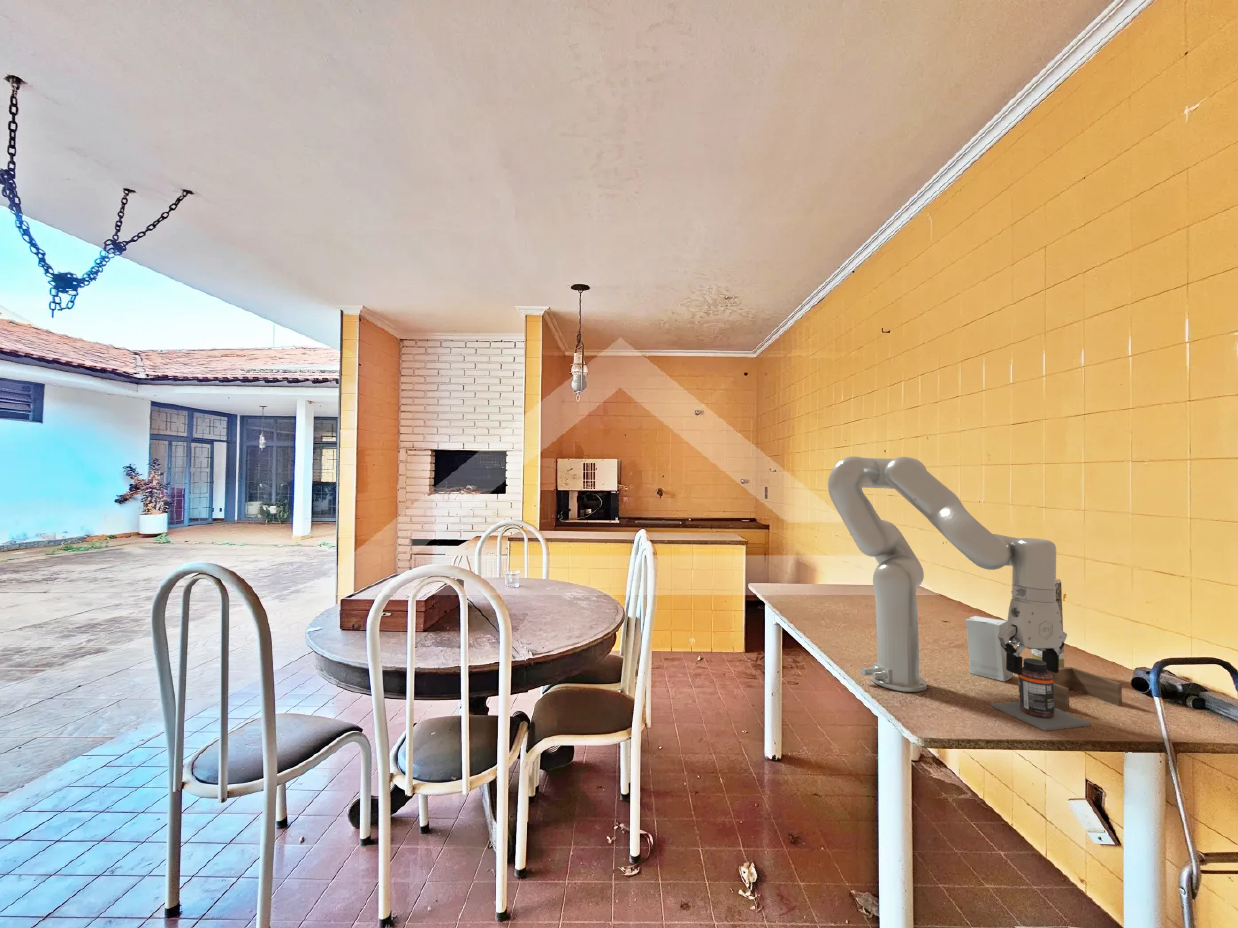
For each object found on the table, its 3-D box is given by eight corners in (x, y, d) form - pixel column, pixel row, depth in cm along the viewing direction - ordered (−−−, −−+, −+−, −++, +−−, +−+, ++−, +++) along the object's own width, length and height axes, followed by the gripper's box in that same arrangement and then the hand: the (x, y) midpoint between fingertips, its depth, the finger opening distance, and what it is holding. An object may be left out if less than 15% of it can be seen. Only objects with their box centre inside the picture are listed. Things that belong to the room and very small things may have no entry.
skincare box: (1013, 678, 133) (1011, 620, 134) (1003, 682, 130) (1001, 624, 131) (977, 668, 140) (975, 614, 141) (967, 672, 137) (965, 617, 138)
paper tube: (1069, 676, 134) (1066, 581, 136) (1038, 673, 137) (1035, 580, 138) (1057, 667, 141) (1053, 577, 142) (1027, 664, 143) (1024, 575, 144)
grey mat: (1044, 730, 104) (1044, 728, 104) (991, 705, 116) (991, 703, 116) (1090, 725, 107) (1090, 723, 107) (1034, 701, 118) (1034, 699, 118)
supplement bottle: (1023, 704, 116) (1021, 654, 116) (1057, 713, 111) (1055, 661, 112) (1016, 712, 112) (1014, 660, 112) (1051, 721, 107) (1049, 667, 108)
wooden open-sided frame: (1066, 711, 113) (1065, 688, 114) (1018, 691, 124) (1017, 671, 124) (1122, 705, 116) (1121, 683, 117) (1071, 686, 127) (1070, 666, 128)
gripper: (1017, 599, 107) (1016, 680, 107) (1083, 597, 111) (1082, 676, 110) (985, 591, 115) (984, 666, 114) (1048, 590, 118) (1046, 663, 118)
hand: (1032, 671), depth 112 cm, fingers open, 9 cm apart
